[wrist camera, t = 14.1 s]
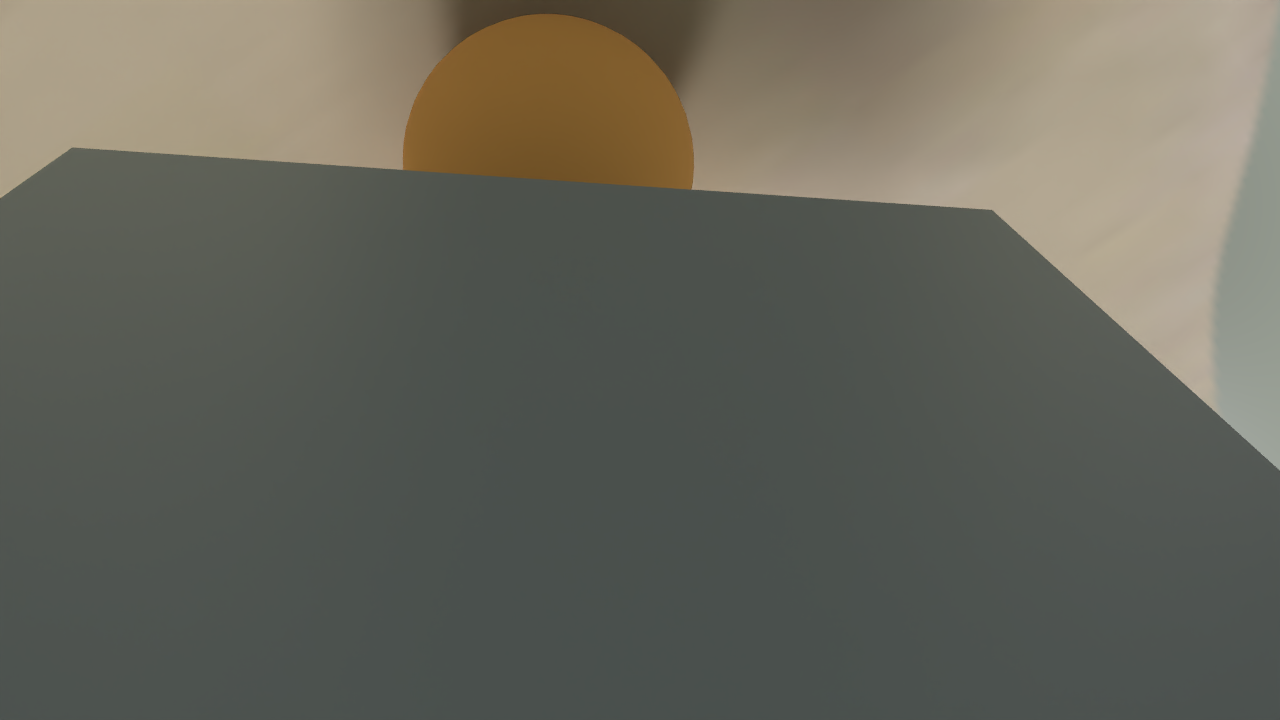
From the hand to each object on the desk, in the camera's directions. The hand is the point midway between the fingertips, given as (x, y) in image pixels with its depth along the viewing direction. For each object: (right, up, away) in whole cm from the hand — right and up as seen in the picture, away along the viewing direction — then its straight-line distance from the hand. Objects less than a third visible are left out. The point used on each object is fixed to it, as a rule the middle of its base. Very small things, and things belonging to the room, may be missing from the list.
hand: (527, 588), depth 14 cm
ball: (0, +6, +6) cm, 9 cm away
